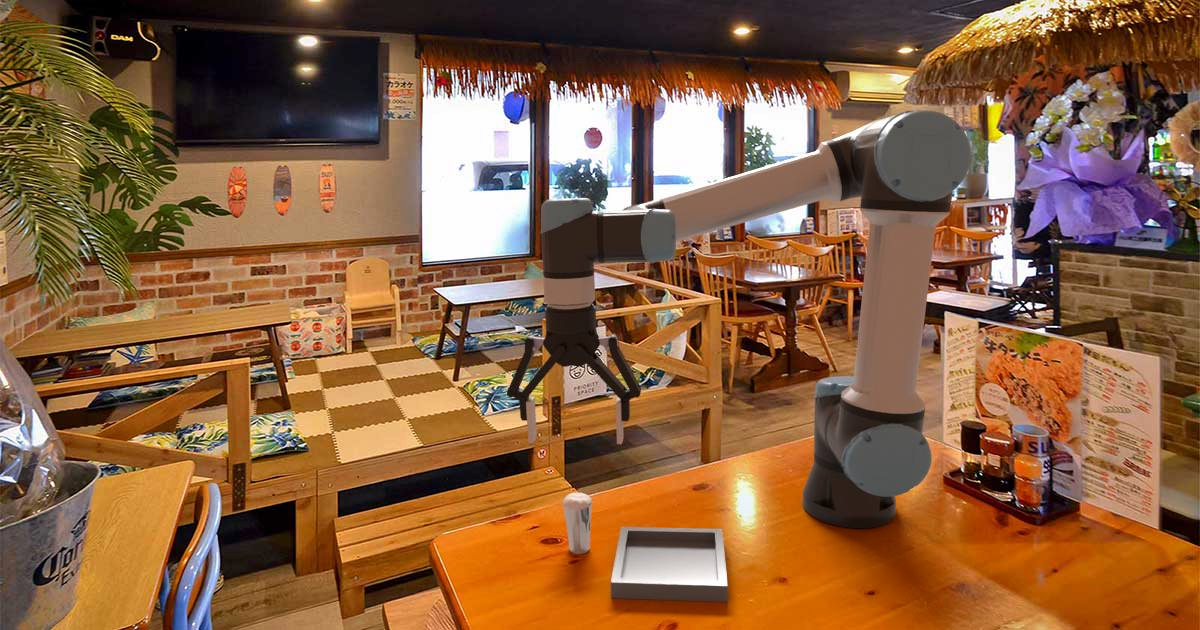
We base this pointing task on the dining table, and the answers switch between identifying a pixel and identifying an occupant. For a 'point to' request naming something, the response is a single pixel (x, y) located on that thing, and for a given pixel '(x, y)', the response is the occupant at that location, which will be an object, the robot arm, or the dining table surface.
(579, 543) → the milkshake
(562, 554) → the dining table surface
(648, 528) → the slate tray
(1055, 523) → the dining table surface
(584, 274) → the robot arm
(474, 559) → the dining table surface
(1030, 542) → the dining table surface
